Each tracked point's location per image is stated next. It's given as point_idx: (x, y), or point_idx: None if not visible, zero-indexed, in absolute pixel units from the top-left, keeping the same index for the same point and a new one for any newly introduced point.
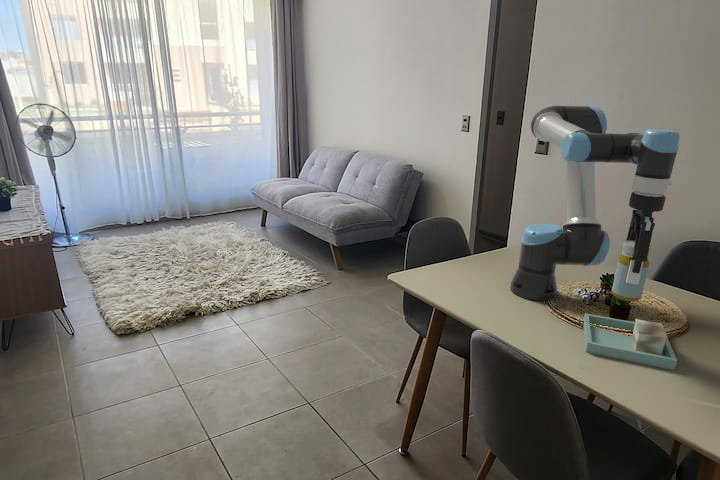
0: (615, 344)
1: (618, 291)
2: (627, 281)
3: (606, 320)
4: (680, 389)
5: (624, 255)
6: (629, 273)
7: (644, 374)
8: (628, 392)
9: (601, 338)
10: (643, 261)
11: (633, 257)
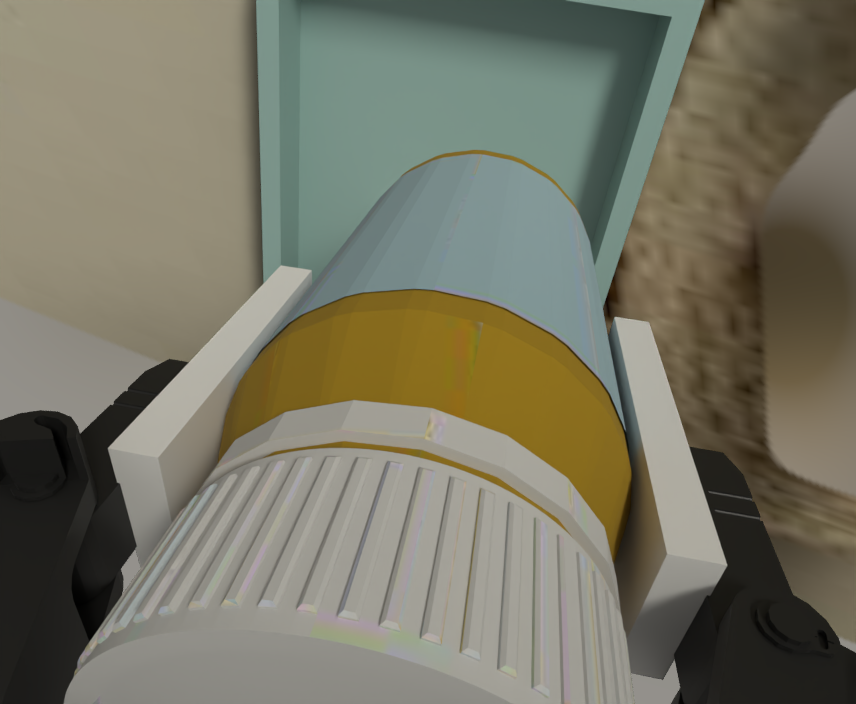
0: (422, 135)
1: (388, 190)
2: (272, 277)
3: (632, 139)
4: (182, 293)
5: (313, 411)
6: (230, 327)
7: (225, 198)
8: (51, 85)
9: (472, 70)
10: (144, 561)
11: (10, 484)
